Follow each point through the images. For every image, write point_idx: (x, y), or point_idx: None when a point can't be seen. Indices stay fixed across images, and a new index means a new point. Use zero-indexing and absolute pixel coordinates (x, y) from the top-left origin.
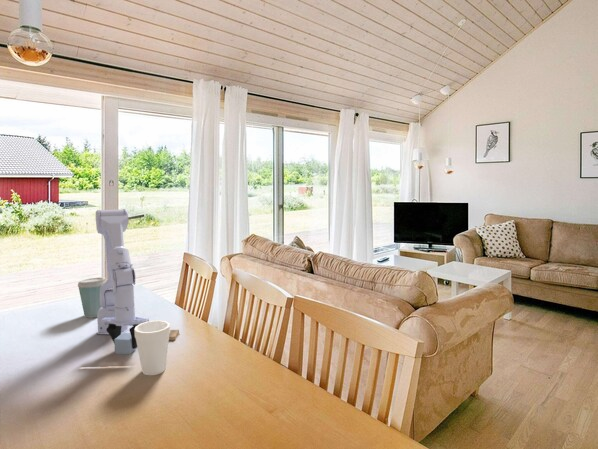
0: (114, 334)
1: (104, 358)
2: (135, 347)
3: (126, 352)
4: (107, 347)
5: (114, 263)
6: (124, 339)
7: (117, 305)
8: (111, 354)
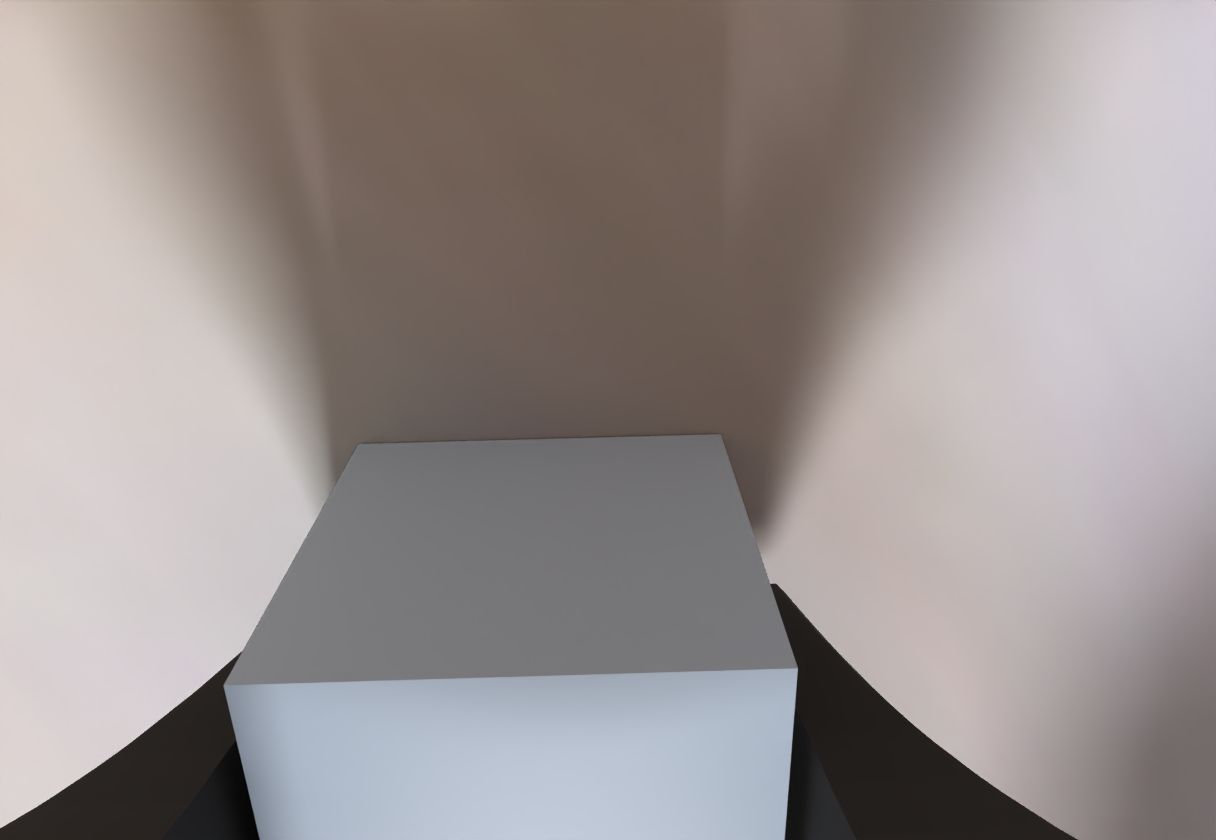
0: (851, 837)
1: (872, 234)
2: None
3: (443, 470)
4: (1041, 699)
5: None
6: (426, 688)
7: None
8: (807, 435)
